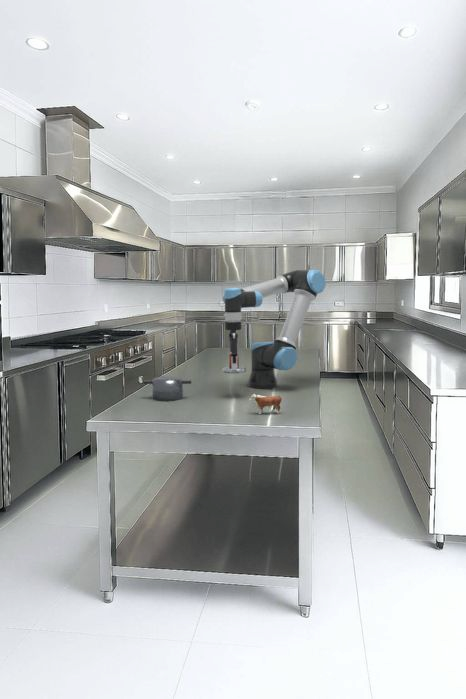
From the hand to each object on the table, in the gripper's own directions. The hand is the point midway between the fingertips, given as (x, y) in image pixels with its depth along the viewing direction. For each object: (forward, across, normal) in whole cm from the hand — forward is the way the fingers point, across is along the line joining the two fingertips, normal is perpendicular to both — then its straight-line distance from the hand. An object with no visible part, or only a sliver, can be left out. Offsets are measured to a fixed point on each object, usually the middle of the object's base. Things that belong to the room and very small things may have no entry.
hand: (233, 367), depth 260 cm
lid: (+2, 0, 0) cm, 2 cm away
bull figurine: (+14, +34, +11) cm, 38 cm away
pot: (+13, +2, -31) cm, 34 cm away
